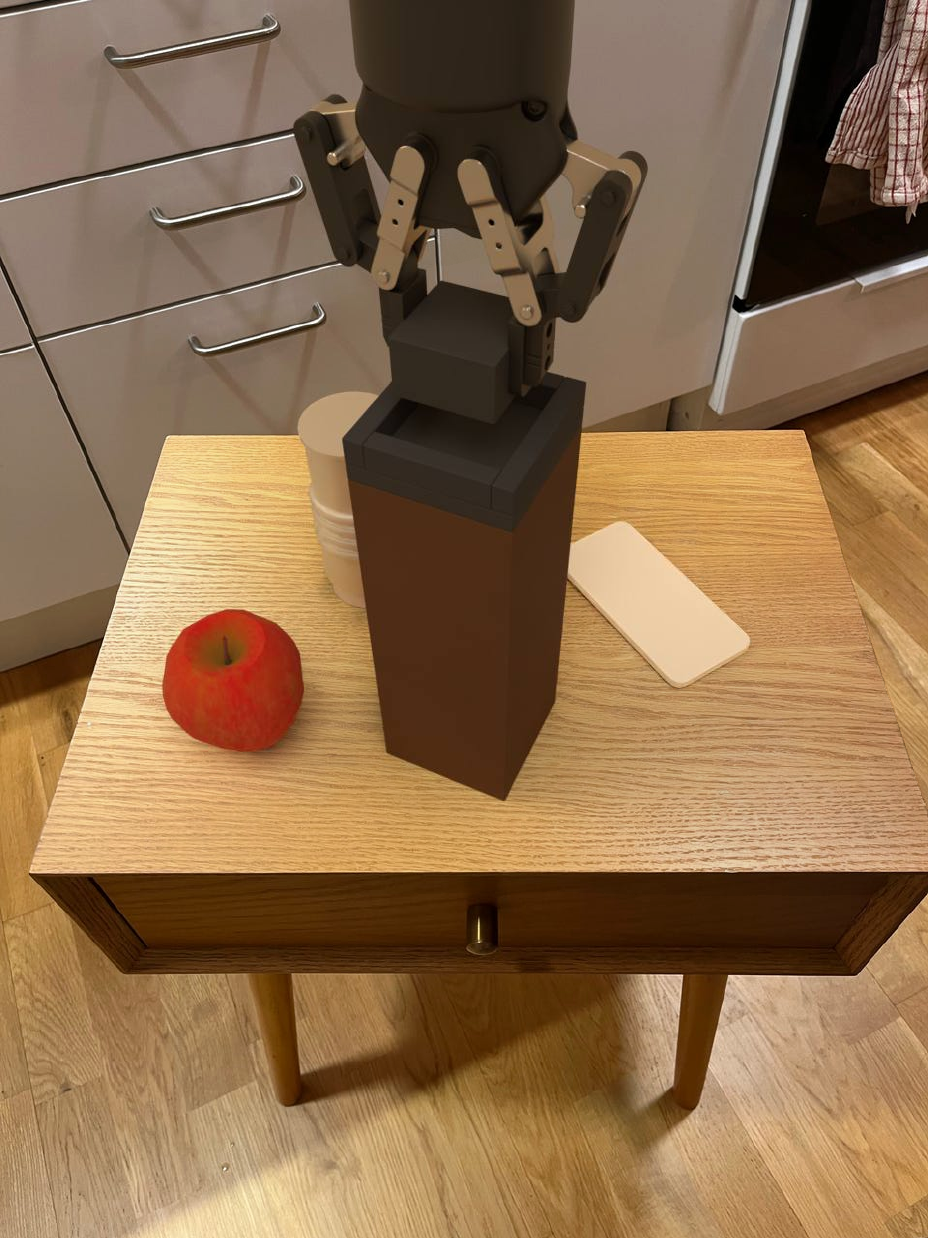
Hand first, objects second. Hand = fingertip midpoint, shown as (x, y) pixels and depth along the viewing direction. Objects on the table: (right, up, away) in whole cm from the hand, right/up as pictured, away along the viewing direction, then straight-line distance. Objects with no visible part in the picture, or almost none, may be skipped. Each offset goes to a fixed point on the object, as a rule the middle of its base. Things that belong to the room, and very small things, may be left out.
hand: (467, 367), depth 43 cm
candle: (-7, -8, +31) cm, 33 cm away
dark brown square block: (0, 0, +1) cm, 1 cm away
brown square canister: (0, -19, +22) cm, 29 cm away
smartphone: (+14, -10, +29) cm, 33 cm away
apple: (-14, -19, +22) cm, 33 cm away
